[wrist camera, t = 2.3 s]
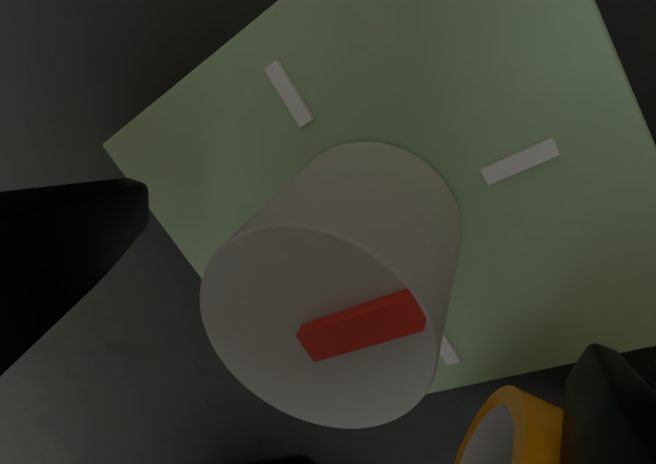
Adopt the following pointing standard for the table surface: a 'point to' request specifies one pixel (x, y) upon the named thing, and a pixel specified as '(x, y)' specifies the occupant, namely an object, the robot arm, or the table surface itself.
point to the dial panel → (435, 157)
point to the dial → (339, 288)
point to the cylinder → (513, 431)
